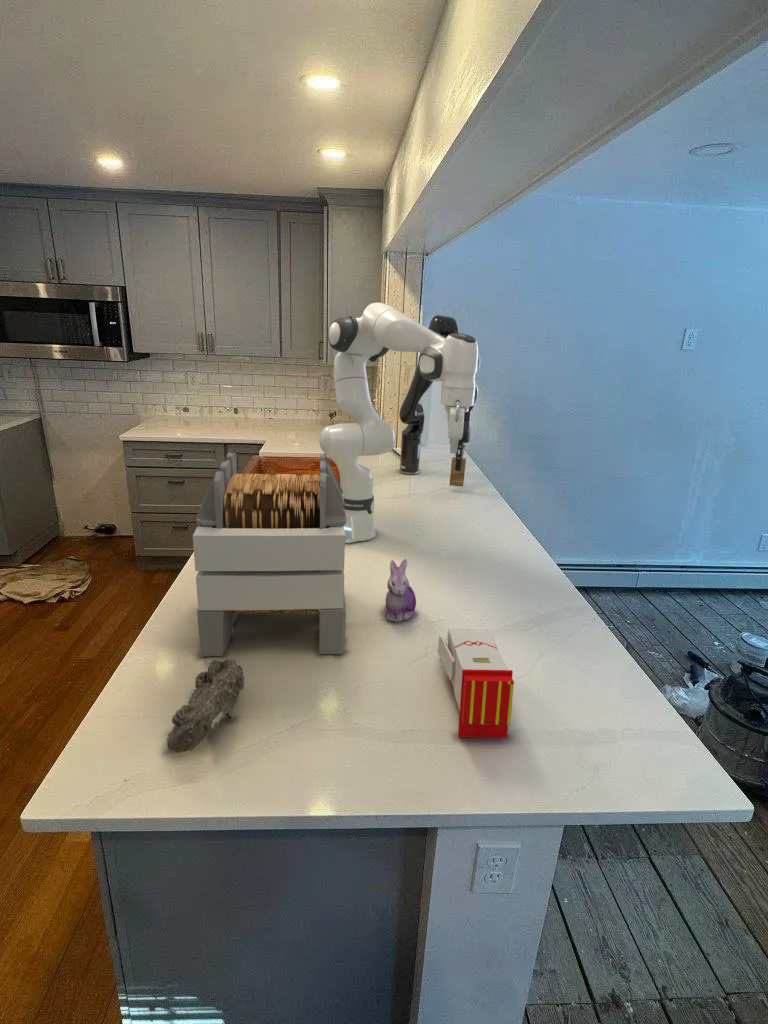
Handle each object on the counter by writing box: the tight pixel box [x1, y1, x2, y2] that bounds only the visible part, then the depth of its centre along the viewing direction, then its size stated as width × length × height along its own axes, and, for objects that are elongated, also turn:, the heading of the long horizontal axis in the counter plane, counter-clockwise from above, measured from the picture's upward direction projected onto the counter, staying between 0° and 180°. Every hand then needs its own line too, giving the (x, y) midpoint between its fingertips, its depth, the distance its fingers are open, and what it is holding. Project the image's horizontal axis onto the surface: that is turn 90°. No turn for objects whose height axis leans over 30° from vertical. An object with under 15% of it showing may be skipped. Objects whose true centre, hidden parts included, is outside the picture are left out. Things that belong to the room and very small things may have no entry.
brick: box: [449, 456, 467, 488], centre depth 247 cm, size 4×6×12 cm
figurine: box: [384, 558, 417, 623], centre depth 145 cm, size 9×10×15 cm
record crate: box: [192, 452, 347, 658], centre depth 136 cm, size 34×33×41 cm
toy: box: [437, 628, 515, 738], centre depth 117 cm, size 12×13×30 cm
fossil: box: [166, 658, 245, 754], centre depth 106 cm, size 22×10×15 cm
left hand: (453, 448), depth 155 cm, fingers open, 8 cm apart
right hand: (458, 469), depth 246 cm, fingers closed on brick, 4 cm apart
